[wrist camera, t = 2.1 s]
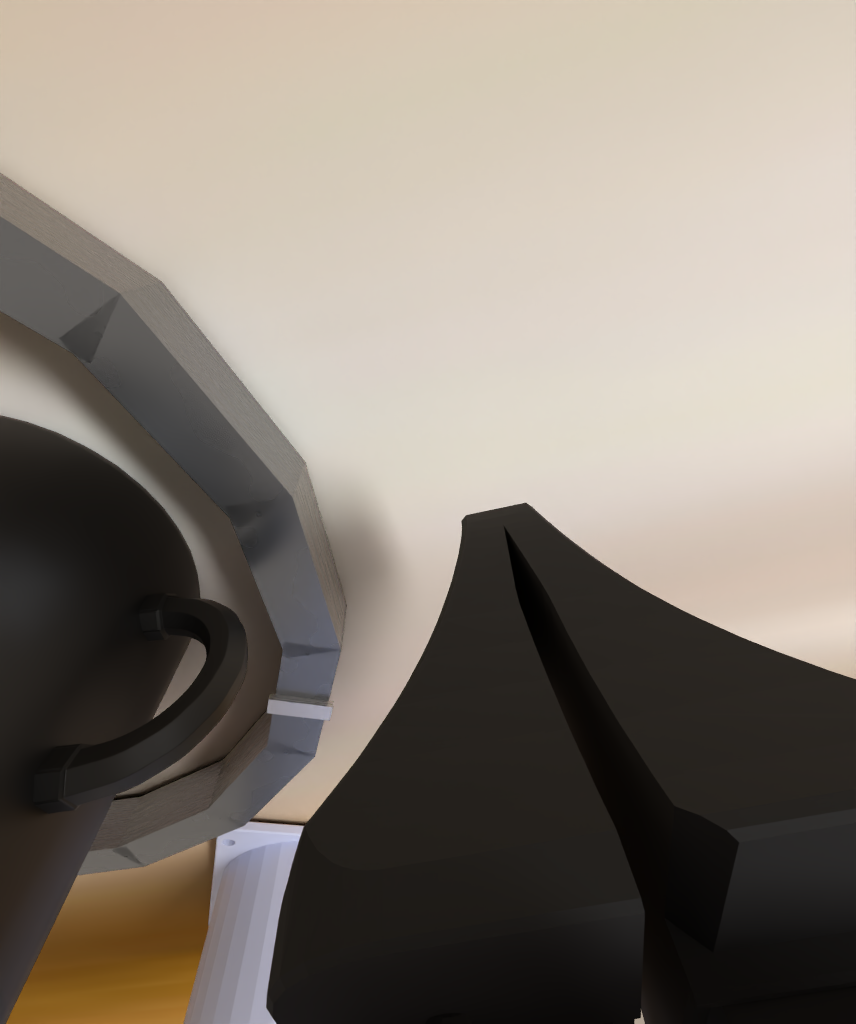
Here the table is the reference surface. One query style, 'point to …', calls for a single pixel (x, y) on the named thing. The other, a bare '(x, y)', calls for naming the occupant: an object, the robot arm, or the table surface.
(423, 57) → the table surface
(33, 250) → the ring
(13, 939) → the mug
